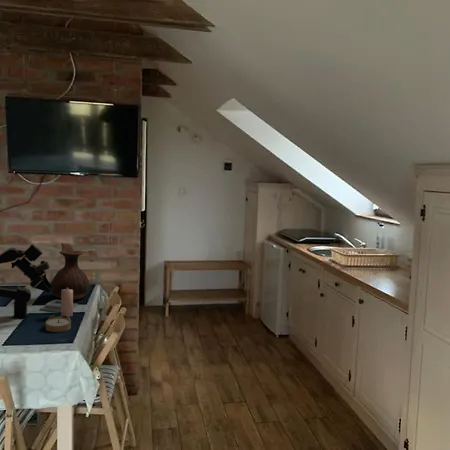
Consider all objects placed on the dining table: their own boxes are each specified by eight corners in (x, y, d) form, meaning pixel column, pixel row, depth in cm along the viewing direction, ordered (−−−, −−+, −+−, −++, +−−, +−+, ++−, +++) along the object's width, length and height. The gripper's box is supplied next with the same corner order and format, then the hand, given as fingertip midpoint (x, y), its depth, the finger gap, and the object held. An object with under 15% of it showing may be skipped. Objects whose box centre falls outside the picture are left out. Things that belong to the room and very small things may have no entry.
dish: (65, 312, 259) (65, 307, 258) (40, 310, 261) (40, 305, 261) (77, 305, 272) (77, 300, 272) (53, 303, 275) (53, 298, 274)
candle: (69, 317, 251) (69, 289, 250) (59, 316, 252) (59, 288, 250) (74, 314, 257) (75, 287, 255) (64, 313, 257) (64, 286, 256)
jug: (95, 294, 298) (96, 244, 295) (81, 303, 277) (82, 249, 274) (60, 291, 300) (60, 242, 297) (43, 300, 279) (44, 247, 276)
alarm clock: (44, 327, 227) (47, 311, 241) (44, 336, 228) (47, 321, 242) (70, 326, 230) (71, 311, 243) (70, 335, 231) (71, 320, 245)
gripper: (37, 259, 239) (61, 282, 243) (41, 253, 257) (63, 274, 261) (19, 276, 238) (44, 298, 242) (24, 268, 256) (47, 289, 260)
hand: (50, 289), depth 251 cm, fingers open, 9 cm apart
